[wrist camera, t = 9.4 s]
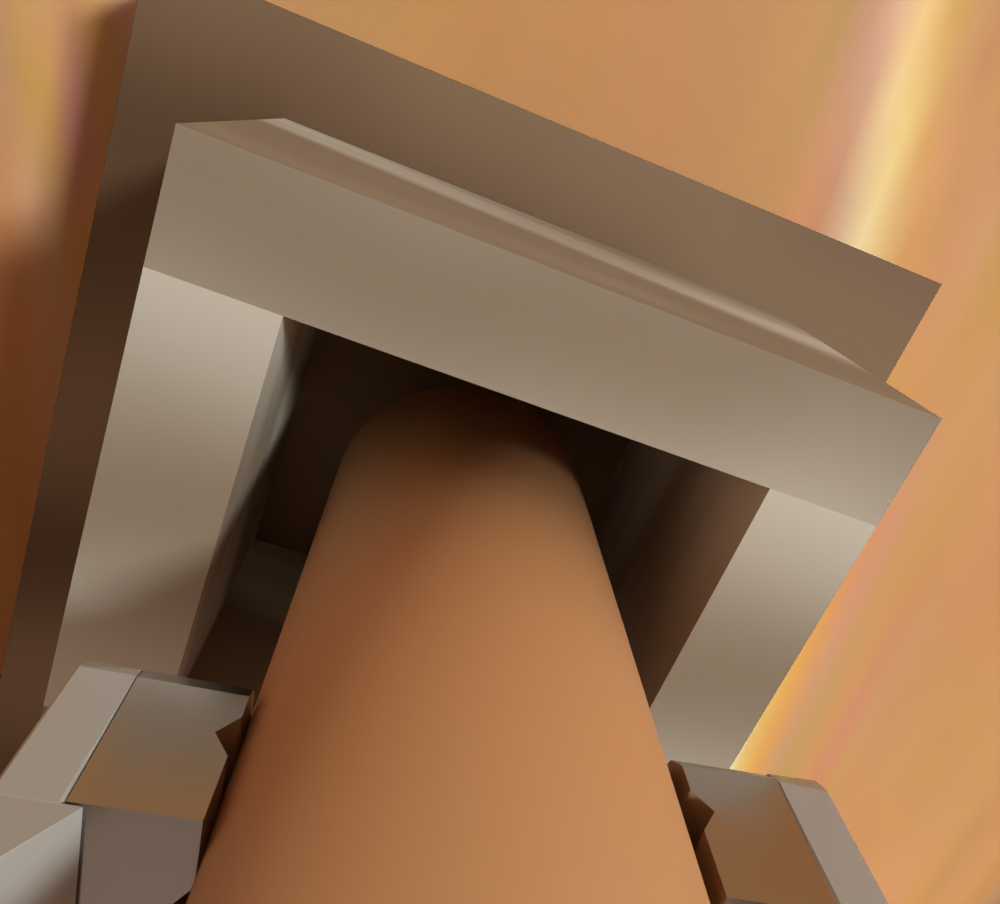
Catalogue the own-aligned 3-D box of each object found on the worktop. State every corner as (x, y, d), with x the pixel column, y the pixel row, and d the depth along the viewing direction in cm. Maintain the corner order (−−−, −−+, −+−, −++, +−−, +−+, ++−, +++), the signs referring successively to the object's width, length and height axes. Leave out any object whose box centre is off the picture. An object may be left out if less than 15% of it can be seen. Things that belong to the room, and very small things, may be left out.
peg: (543, 625, 15) (791, 2202, 4) (316, 583, 14) (-207, 2263, 3) (608, 416, 13) (1342, 1964, 2) (357, 361, 13) (-339, 2004, 2)
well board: (494, 987, 24) (507, 1341, 17) (-10, 874, 22) (-231, 1233, 15) (888, 264, 17) (1192, 374, 10) (188, -28, 14) (-71, -159, 7)
